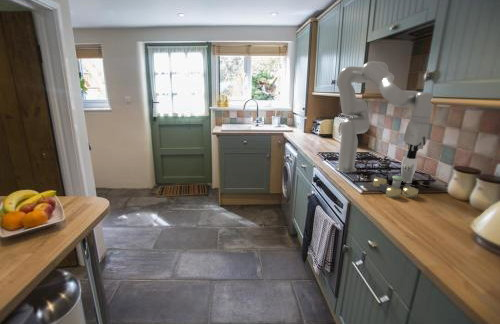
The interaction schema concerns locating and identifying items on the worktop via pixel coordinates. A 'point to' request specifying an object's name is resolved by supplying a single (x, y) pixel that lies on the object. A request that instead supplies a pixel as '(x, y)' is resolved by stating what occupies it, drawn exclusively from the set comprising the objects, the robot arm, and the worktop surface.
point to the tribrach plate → (397, 181)
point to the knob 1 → (390, 191)
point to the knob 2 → (409, 191)
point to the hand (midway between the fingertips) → (410, 158)
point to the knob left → (378, 181)
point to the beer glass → (408, 168)
